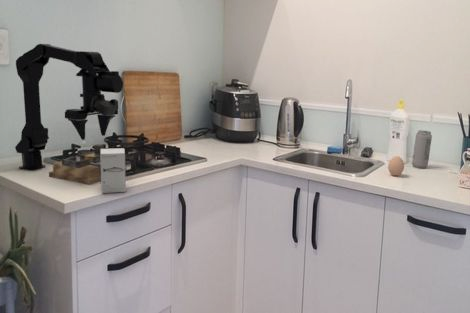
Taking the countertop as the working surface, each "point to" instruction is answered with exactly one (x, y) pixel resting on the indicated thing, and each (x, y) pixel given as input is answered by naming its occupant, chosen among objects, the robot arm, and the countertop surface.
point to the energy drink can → (421, 149)
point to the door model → (78, 169)
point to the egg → (396, 166)
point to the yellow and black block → (96, 152)
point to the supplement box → (112, 170)
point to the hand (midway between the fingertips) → (93, 137)
